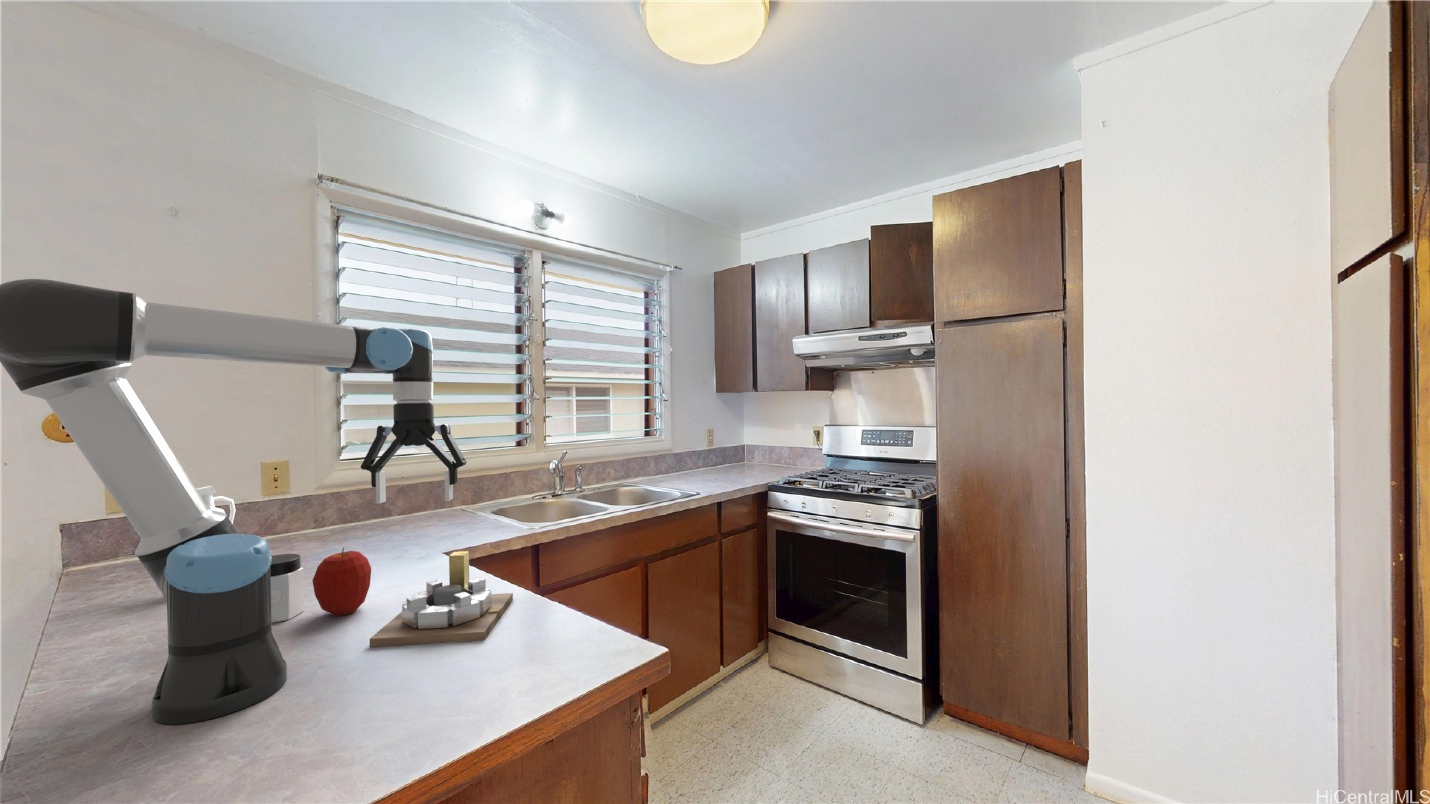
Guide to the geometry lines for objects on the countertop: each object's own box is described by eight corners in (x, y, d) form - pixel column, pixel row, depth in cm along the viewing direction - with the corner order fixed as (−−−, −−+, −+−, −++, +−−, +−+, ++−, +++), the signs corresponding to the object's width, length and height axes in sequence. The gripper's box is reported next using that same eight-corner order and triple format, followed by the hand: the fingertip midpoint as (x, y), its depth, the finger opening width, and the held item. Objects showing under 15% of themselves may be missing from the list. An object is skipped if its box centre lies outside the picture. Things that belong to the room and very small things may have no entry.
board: (484, 639, 100) (484, 604, 100) (369, 647, 98) (368, 611, 98) (512, 599, 120) (512, 570, 120) (417, 605, 118) (417, 575, 117)
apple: (359, 600, 121) (358, 538, 121) (381, 609, 116) (380, 544, 115) (304, 616, 112) (303, 549, 112) (326, 626, 107) (324, 556, 107)
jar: (245, 628, 107) (244, 568, 106) (252, 615, 113) (251, 558, 113) (302, 617, 112) (301, 560, 111) (305, 605, 118) (304, 551, 118)
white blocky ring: (475, 625, 102) (474, 572, 102) (390, 630, 100) (388, 577, 100) (498, 595, 117) (498, 549, 117) (425, 599, 116) (424, 553, 116)
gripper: (479, 401, 121) (481, 495, 121) (359, 403, 117) (361, 500, 117) (469, 401, 114) (471, 502, 114) (340, 403, 110) (342, 507, 110)
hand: (415, 501), depth 116 cm, fingers open, 13 cm apart
